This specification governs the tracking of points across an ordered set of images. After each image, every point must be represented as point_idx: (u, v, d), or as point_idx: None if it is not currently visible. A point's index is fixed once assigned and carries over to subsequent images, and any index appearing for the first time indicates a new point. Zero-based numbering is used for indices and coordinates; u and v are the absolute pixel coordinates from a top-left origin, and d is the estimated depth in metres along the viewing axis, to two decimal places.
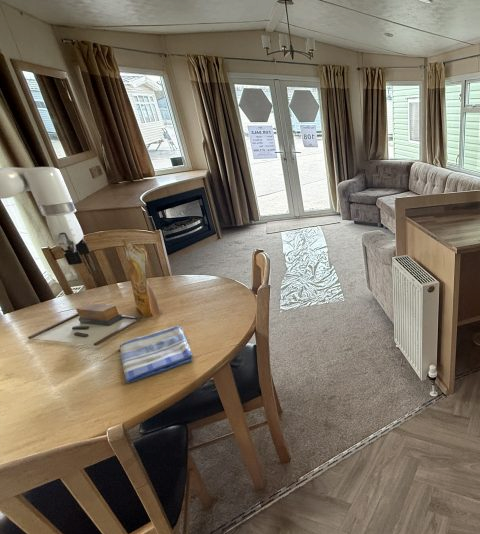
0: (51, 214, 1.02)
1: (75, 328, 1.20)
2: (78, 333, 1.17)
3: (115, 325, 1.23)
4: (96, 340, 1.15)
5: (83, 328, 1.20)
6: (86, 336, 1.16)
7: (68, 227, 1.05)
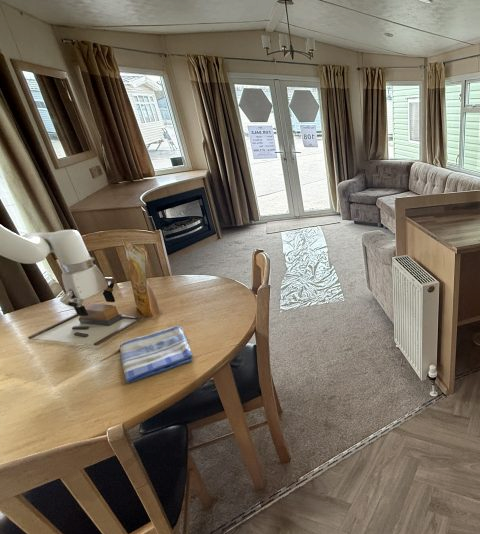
0: (65, 272, 1.13)
1: (75, 328, 1.20)
2: (78, 333, 1.17)
3: (115, 325, 1.23)
4: (96, 340, 1.15)
5: (83, 328, 1.20)
6: (86, 336, 1.16)
7: (74, 285, 1.14)
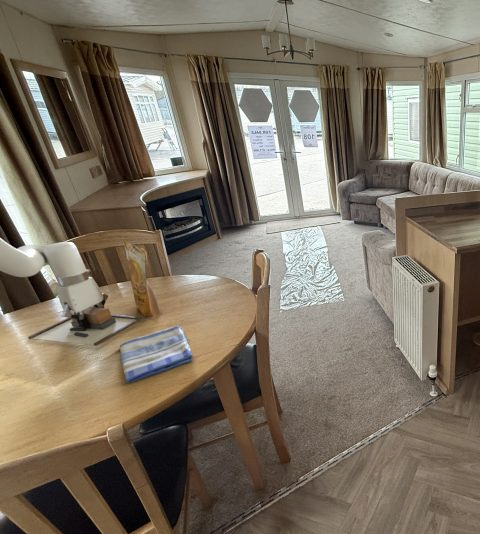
0: (60, 285, 1.12)
1: (72, 329, 1.19)
2: (78, 333, 1.17)
3: (115, 325, 1.23)
4: (96, 340, 1.15)
5: (80, 330, 1.19)
6: (86, 336, 1.16)
7: (69, 298, 1.13)
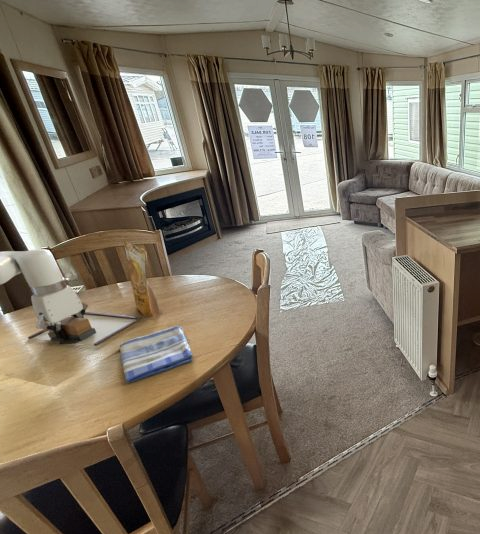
0: (34, 294, 1.06)
1: (53, 339, 1.14)
2: (64, 341, 1.13)
3: (115, 325, 1.23)
4: (96, 340, 1.15)
5: (60, 340, 1.13)
6: (76, 342, 1.13)
7: (45, 308, 1.07)
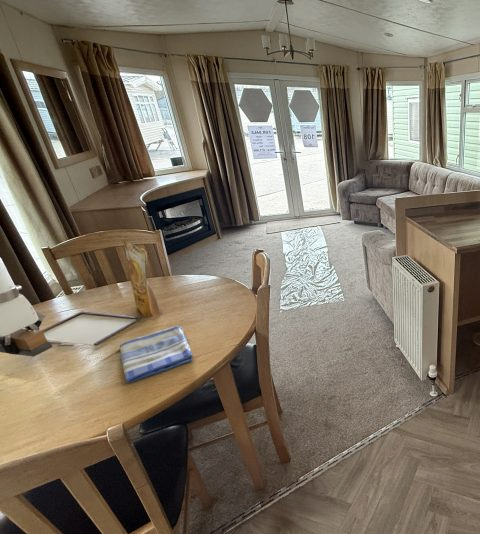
0: None
1: None
2: None
3: (115, 325, 1.23)
4: (96, 340, 1.15)
5: None
6: None
7: None
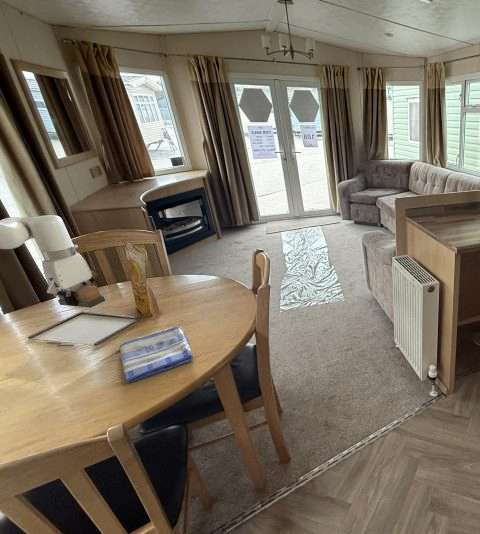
0: (45, 260, 1.08)
1: None
2: None
3: (115, 325, 1.23)
4: (96, 340, 1.15)
5: None
6: None
7: (55, 273, 1.09)
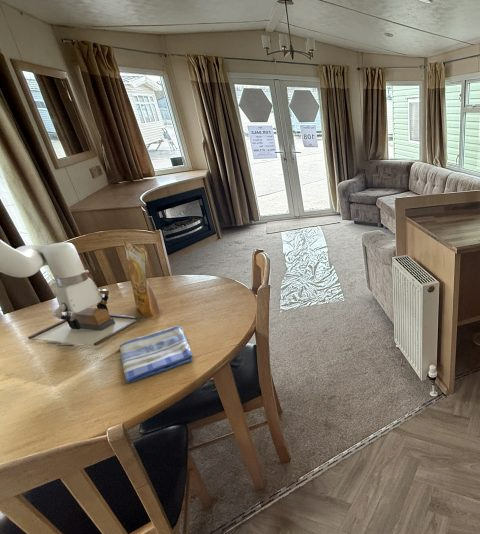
0: (58, 285, 1.12)
1: None
2: None
3: (115, 325, 1.23)
4: (96, 340, 1.15)
5: None
6: None
7: (68, 298, 1.13)
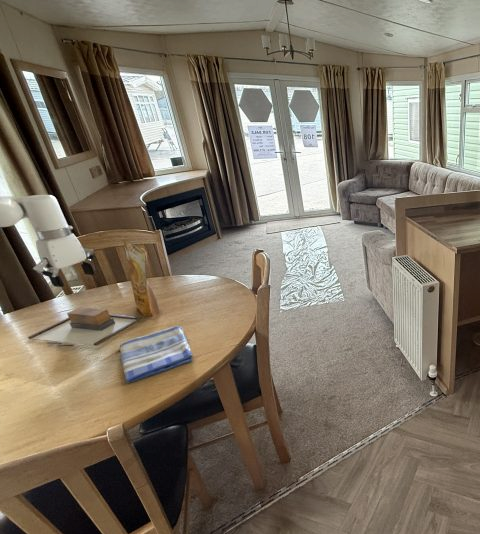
0: (39, 239, 1.08)
1: None
2: None
3: (115, 325, 1.23)
4: (96, 340, 1.15)
5: None
6: None
7: (49, 253, 1.08)
